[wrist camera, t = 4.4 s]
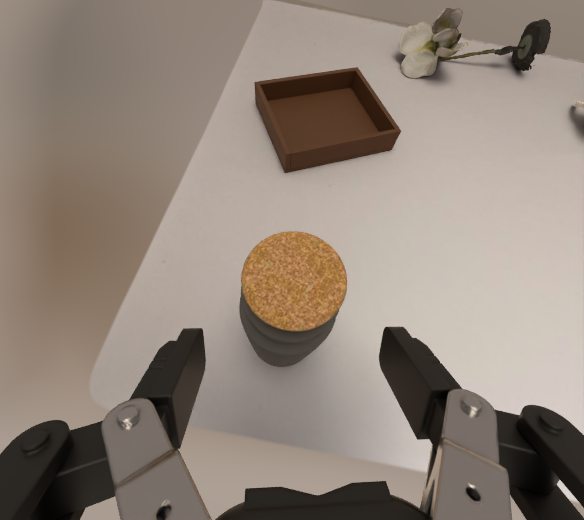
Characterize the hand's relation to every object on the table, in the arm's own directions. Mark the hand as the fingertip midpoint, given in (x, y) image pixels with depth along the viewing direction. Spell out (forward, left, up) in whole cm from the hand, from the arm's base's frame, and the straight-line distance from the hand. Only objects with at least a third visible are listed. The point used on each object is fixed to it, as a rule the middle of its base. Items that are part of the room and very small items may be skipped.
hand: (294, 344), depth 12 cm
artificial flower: (+43, +35, -14) cm, 57 cm away
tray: (+15, +28, -14) cm, 34 cm away
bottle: (+1, +3, -14) cm, 14 cm away
